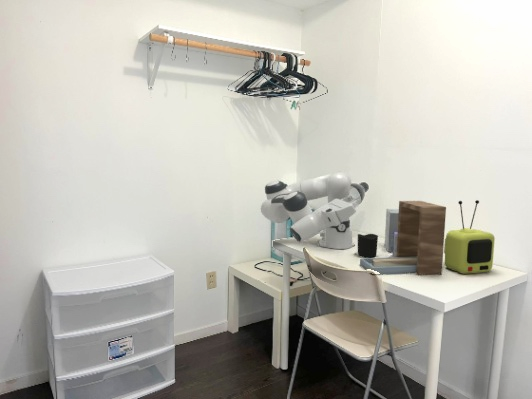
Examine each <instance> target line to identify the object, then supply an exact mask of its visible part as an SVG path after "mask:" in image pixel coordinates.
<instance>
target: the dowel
mask: <svg viewBox="0 0 532 399" xmlns="http://www.w3.org/2000/svg"><path fill="white" fill-rule="evenodd" d="M416 265H417V259H416V258H401V259H373V260H372V266H374V267H390V266H416Z"/></svg>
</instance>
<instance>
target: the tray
mask: <svg viewBox="0 0 532 399" xmlns="http://www.w3.org/2000/svg"><path fill="white" fill-rule="evenodd" d="M401 258H416V259H417V257H392V256H391V257H374V258H364V257H362V258H359V266H361V267H362V268H363V269H364V270H366V269H371V270H374V271H377V272H379V273H380V274H382V275H383V274H386V275H403V274H405V273H406V274H405V275H407V273H410V274H417V265H416V266H390V267H374V266H372V260H373V259H401ZM382 275H381V276H382Z"/></svg>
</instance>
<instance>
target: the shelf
mask: <svg viewBox="0 0 532 399" xmlns="http://www.w3.org/2000/svg"><path fill="white" fill-rule="evenodd" d="M398 209H399V214H398V234H397V254H396V257H417V273H416V275H417V274H418V275H417V276H419V275H420V276H439V275H442V274H443V263H444V262H443V260H444V246H445V229H446V218H447V216H446V214H447V212H446V211H447V207H446V206H443V205H439V204H434V203H431V202H426V201H423V200H399V201H398Z"/></svg>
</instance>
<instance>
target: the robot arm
mask: <svg viewBox="0 0 532 399" xmlns="http://www.w3.org/2000/svg"><path fill="white" fill-rule="evenodd" d="M351 185H352V179H351V176H350V175H349V174H348V173H347V172H345V171H337V172H332V173H327V174H324V175H321V176H317V177H313V178H307V179H304V180H300V181H297V182H294V183H291V184H289V185H288V184H287V183H285V182H283V181H281V180H273V181H270V182H268V183H267V184H266V185H265V186H264V192H265V194H266V196H265V197H266V200H265V201H263V202H262V204H261V205H260V206H261V207H260V213H261V214H262V215H263V217H264V218H265V219H267V220H269V221H271V222H273V223H277V224H283V223H285V222H287V221H289V220H291V222H292V225H291V226H290V228H289V230H290V233H291V235H292V237H293V238H294V239H295V240H296V241H297V242H299V243H302V242H305V241H307V240H309V239H312V238H313V237H315V236H317V235H318V234H319V236H320V237H321V238H318V239H317V242H318V245H319V247H321V248H329V249H335V250H347V249H351V248H352V247H355V242H353V230H352V229H351V228H350V227H351V222H350V221H351V220H350V217H352V216H353V215H354V214H356V212H357V209H356V208H357V206H359V205H360V204H361V203H362V200H361V198H356V199H355V200H354V201H353V199H354V197H353V196H351V195H350V187H351ZM322 198H327V203H325V204H324V205H322V206H320V207H319V208H316V209H315V210H314V211H313V210H312V207H311V206H310V204H309V201H312V200H318V199H322ZM351 201H353V202H351Z"/></svg>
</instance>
